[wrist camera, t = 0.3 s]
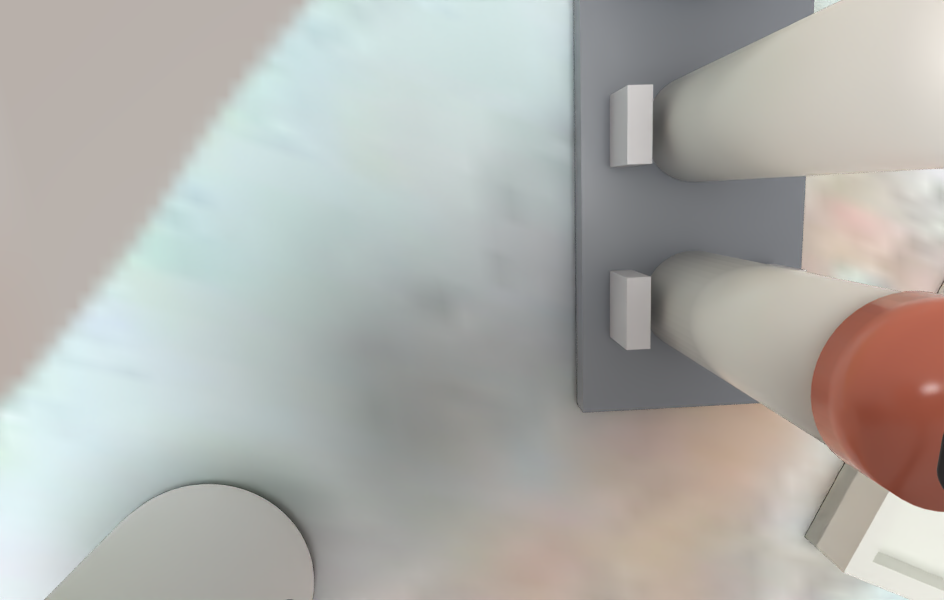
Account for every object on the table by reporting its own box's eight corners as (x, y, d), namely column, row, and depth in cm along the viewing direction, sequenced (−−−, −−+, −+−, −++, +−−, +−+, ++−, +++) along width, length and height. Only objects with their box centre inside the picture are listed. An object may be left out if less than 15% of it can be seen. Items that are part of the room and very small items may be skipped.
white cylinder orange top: (714, 367, 23) (999, 542, 12) (622, 327, 23) (823, 466, 11) (761, 273, 23) (1109, 355, 11) (669, 230, 23) (929, 268, 11)
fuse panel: (780, 393, 25) (1150, 603, 12) (577, 404, 24) (736, 634, 12) (804, -144, 22) (1336, -632, 9) (572, -142, 21) (780, -651, 8)
